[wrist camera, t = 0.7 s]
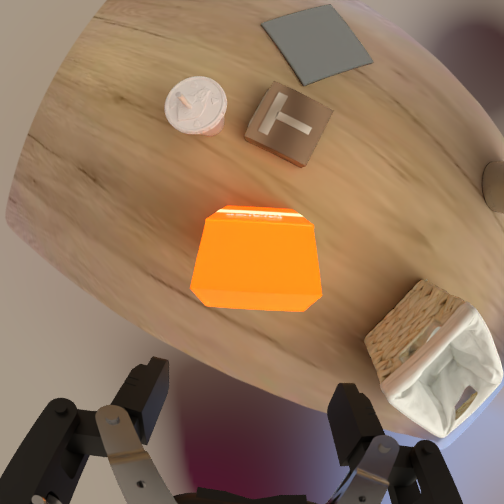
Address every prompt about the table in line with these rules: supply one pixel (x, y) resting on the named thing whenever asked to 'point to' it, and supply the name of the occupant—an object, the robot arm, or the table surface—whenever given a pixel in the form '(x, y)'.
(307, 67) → the slate pad
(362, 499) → the robot arm
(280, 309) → the orange juice
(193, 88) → the smoothie
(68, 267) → the table surface
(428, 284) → the storage basket
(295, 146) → the lettered block
